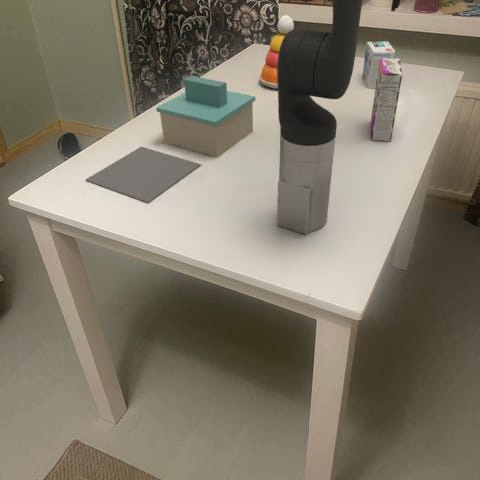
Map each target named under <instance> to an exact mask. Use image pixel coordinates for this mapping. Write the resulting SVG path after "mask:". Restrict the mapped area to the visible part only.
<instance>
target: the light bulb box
mask: <svg viewBox="0 0 480 480" xmlns="http://www.w3.org/2000/svg"><path fill="white" fill-rule="evenodd" d="M395 57H396V51H395V49H394V48H393V46H392V45H391V43H390V42H389V41H387V40H386V41H366V44H365V52H364V60H363V66H362V67H363V68H362V74H361V77H362V79H363V81H364V84H365V86H366V88H367V89H375V87H376V79H377V72H378V65H379V59H380V58H386V59H387V58H392V59H395Z"/></svg>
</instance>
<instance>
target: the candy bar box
mask: <svg viewBox="0 0 480 480" xmlns="http://www.w3.org/2000/svg"><path fill="white" fill-rule="evenodd" d="M402 78H403V70H402V64H401V59H400V58H394V59H392V58H387V59H386V58H380V59H379V65H378V72H377V79H376V87H375V88H374V89H375V90H374V96H373V102H372V109H371V117H370V118H371V119H370V136H371V137H370V138H371V141H373V142H388V143H389V142H392V137H393V130H394V125H395V121H396V113H397V107H398V102H399V97H400V89H401V84H402Z"/></svg>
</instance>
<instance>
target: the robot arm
mask: <svg viewBox="0 0 480 480" xmlns="http://www.w3.org/2000/svg"><path fill="white" fill-rule="evenodd" d="M331 2H332V3H331V5H332V26H331V32H329V31H318V30H311V29H310V30H308V29H307V30H306V29H298V28H297V29H293V30H291V31H290V32H288V33H287V34H286V36H285V37H284V39H283V41H282V43H281V46H280V50H279V55H278V65H277V80H278V89H277V98H278V99H277V101H278V104H277V105H278V109H277V111H278V113H277V114H278V122H279V126H280V128H279V129H280V130H279V133H280V138H279V163H278V165H279V169H278V170H279V173H278V182H277V202H276V203H277V204H276V206H277V207H276V209H277V211H276V213H277V214H276V225H277V226H279V227H282V228H285V229H288V230H292V231H294V232H297V233H300V234H303V235H308V234H309V233H310V232H313V231H316V230H319V229H321V228H322V227H324V226H325V225H326V223H327V221H328V215H329V214H328V213H329V203H330V193H331V183H332V175H333V173H332V172H333V164H334V155H335V146H336V136H337V135H336V134H337V128H338V126H337V125H338V124H337V119H336V117H335V115H334V114H333V113H332V112H330V111H329V110H328V109H326V108H325V107H323V106H322V105H320V104H318V102H316V101H315V100H314V99H313V98H312V97H314V98H322V99H327V100H339V99H341V98H342V97H343V96H344V95H345V93H347V91H348V88H349V86H350V83H351V79H352V76H353V72H354V66H355V60H356V52H357V46H358V45H357V44H358V37H359V29H360V21H361V13H362V7H363V6H362V5H363V0H331ZM400 5H401V0H392V3H391V8H390V9H391V10H390V11H391V12H395V11H396V9H399V7H400Z"/></svg>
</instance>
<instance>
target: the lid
mask: <svg viewBox="0 0 480 480" xmlns="http://www.w3.org/2000/svg"><path fill="white" fill-rule="evenodd" d="M183 82H184V90H185V91H184V92H183V93H181V94H179V95H177V96H176V97H174V98H172V99H170V100H168V101H166V102H164V103H162V104H160V105H159V106H156V112H157V113H159V114H160V113H164V114H168V115H172V116H176V117H180V118H184V119H188V120H192V121H196V122H200V123H204V124H208V125H212V126H217V125H218V124H220V123H221V122H223V121H225V120H226V119H228V118H229V117H231V116H232V115H234V114H235V113H237V112H238V111H240V110H241V109H243V108H244V107H246V106H248V105H249V104H251V103H252V102H255V101H256V96H255V95H250V94H245V93H240V92H235V91H230V90H228V89H227V87H228V85H227V82H226V81H222V80H221V81H219V80H215V79H214V80H213V79H210V78H205V77H199V76H193V75H190V76H189V77H187V78H185V79H183Z"/></svg>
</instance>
